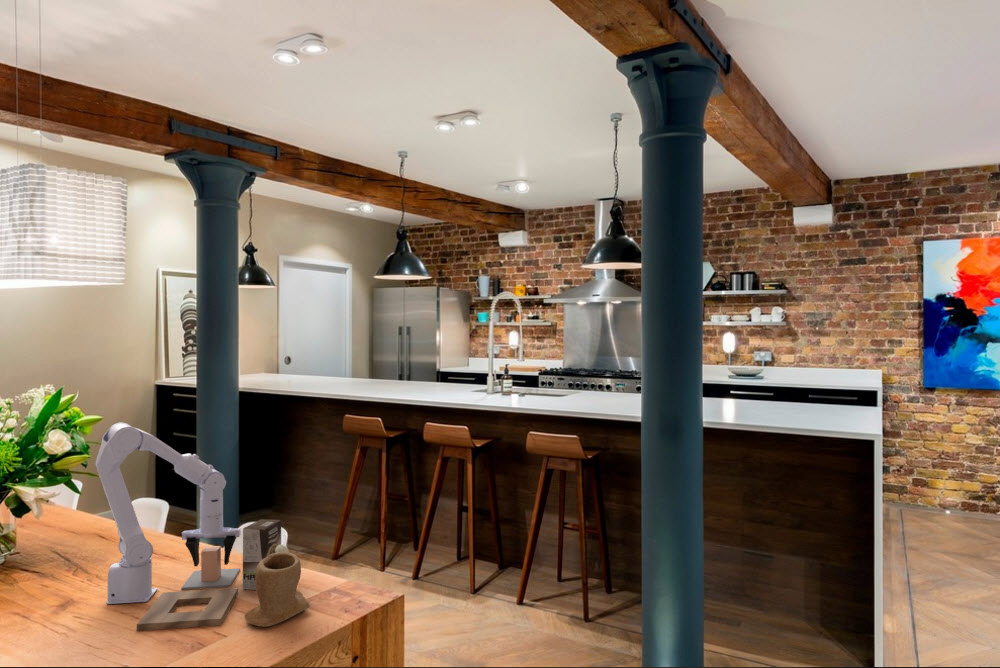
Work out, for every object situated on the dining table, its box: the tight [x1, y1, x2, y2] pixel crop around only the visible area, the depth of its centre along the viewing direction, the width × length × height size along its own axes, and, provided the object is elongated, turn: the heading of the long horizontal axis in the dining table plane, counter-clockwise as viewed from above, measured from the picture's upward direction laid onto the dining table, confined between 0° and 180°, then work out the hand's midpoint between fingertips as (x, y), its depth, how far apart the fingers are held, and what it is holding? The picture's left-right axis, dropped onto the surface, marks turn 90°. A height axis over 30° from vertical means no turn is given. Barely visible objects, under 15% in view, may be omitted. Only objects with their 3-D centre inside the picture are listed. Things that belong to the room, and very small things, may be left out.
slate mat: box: [181, 567, 241, 591], centre depth 181 cm, size 12×12×1 cm
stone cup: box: [244, 552, 310, 628], centre depth 158 cm, size 15×12×15 cm
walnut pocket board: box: [136, 587, 239, 632], centre depth 161 cm, size 18×18×2 cm
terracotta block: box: [200, 545, 222, 582], centre depth 180 cm, size 4×4×8 cm
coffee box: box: [242, 518, 282, 591], centre depth 178 cm, size 9×6×16 cm
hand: (211, 564), depth 181 cm, fingers open, 7 cm apart
